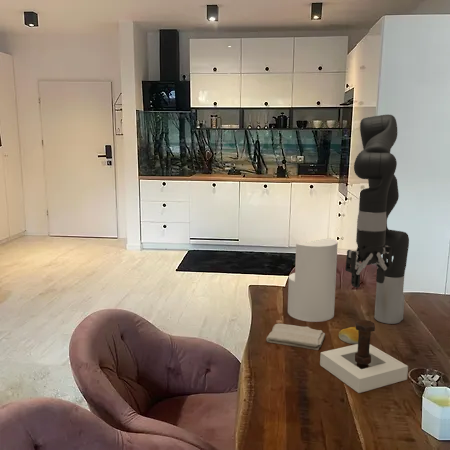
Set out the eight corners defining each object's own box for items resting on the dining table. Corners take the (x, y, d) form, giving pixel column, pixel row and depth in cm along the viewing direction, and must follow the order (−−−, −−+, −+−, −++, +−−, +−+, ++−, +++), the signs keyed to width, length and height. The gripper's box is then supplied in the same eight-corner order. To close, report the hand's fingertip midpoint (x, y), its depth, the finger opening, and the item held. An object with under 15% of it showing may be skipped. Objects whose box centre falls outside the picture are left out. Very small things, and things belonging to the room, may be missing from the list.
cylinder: (343, 315, 180) (347, 242, 174) (310, 325, 170) (313, 248, 165) (311, 301, 194) (313, 234, 188) (278, 310, 184) (280, 239, 179)
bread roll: (371, 340, 159) (372, 329, 158) (352, 346, 154) (353, 335, 153) (352, 331, 165) (353, 320, 165) (334, 337, 161) (334, 326, 160)
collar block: (365, 354, 148) (366, 341, 148) (407, 379, 133) (408, 366, 132) (320, 365, 141) (320, 352, 140) (358, 393, 126) (359, 379, 125)
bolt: (371, 378, 134) (375, 328, 131) (353, 376, 135) (356, 326, 132) (370, 368, 139) (373, 320, 136) (352, 366, 140) (355, 318, 137)
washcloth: (320, 352, 150) (320, 343, 150) (265, 343, 156) (265, 335, 156) (325, 337, 161) (326, 328, 161) (273, 329, 167) (274, 321, 167)
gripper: (381, 222, 136) (378, 277, 139) (341, 227, 130) (338, 284, 133) (401, 227, 129) (397, 285, 132) (360, 232, 123) (356, 292, 126)
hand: (367, 284), depth 132 cm, fingers open, 8 cm apart
